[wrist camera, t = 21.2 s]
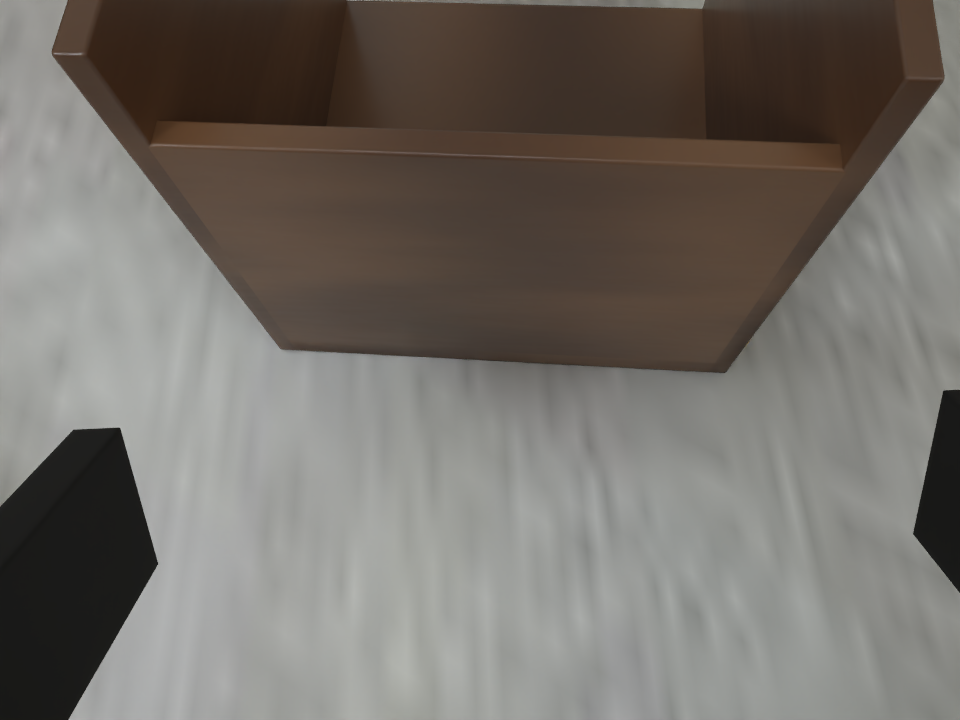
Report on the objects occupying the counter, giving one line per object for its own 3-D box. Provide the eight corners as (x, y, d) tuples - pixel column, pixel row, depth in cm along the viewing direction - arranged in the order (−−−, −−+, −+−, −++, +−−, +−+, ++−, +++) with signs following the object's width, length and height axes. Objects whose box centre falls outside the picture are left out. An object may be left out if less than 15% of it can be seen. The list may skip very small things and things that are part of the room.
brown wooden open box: (280, 350, 21) (48, 54, 10) (336, 18, 25) (206, -440, 14) (725, 373, 20) (946, 80, 10) (713, 28, 24) (863, -448, 14)
